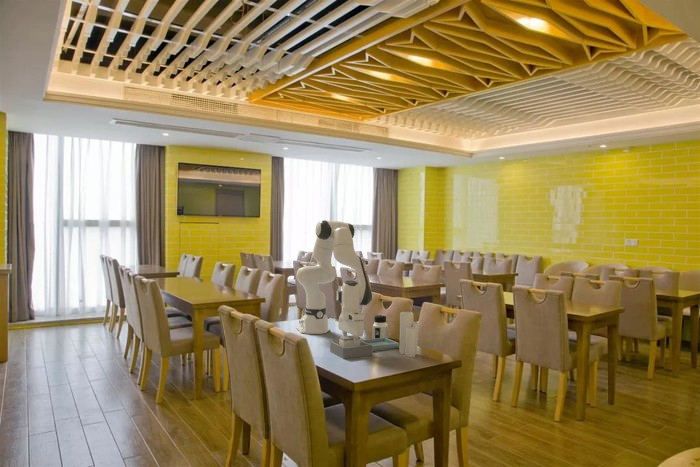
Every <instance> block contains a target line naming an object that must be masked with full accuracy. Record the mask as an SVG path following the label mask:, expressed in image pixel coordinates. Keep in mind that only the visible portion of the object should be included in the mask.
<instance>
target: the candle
mask: <svg viewBox="0 0 700 467" xmlns="http://www.w3.org/2000/svg"><path fill="white" fill-rule="evenodd" d="M418 331H419V323H418V322H414V312H412V311H401V312H400V313H399V348H398V349H399V351H398V352H399V353H400V354H401V355H405V357H408V358H415V357H416V355H418V341H419V340H418V338H419V337H418V336H419V335H418V333H419V332H418Z"/></svg>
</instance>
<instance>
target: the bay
mask: <svg viewBox="0 0 700 467" xmlns="http://www.w3.org/2000/svg"><path fill="white" fill-rule="evenodd" d="M361 340H362V339H360V346H355V347H346V348H345V347H343V346H341V345H339V344H338V343H336V342H334V341H330V342H329V344H330V346H329V352H330V353H332V354H334V355H336V356H337V357H339V358H341V359H343V360H347V359H354V358H363V357H370V356H373V351H372V345H370V344H368V343H366V342H364V341H361Z"/></svg>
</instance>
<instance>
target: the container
mask: <svg viewBox="0 0 700 467" xmlns="http://www.w3.org/2000/svg"><path fill="white" fill-rule="evenodd" d="M373 320H374V323H373V325H372V327H371V330H372V331H371V332H372V333H371V339H375V338H384V337H385V338H387V339H388V336H389V334H388V332H389V330H388V329H389V324H388V323H387V316H386V315H385V314H376V315H375V316H374V319H373Z"/></svg>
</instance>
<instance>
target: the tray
mask: <svg viewBox="0 0 700 467" xmlns="http://www.w3.org/2000/svg"><path fill="white" fill-rule="evenodd" d="M360 340H361V341H364V342H366V343H368V344H370V345H372V352H377V351H384V350H393V349H400V342H397V341H395V340H393V339H390V338H388V337H387V338H385V337H384V338H375V339H372V338H367V339H360Z"/></svg>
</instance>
